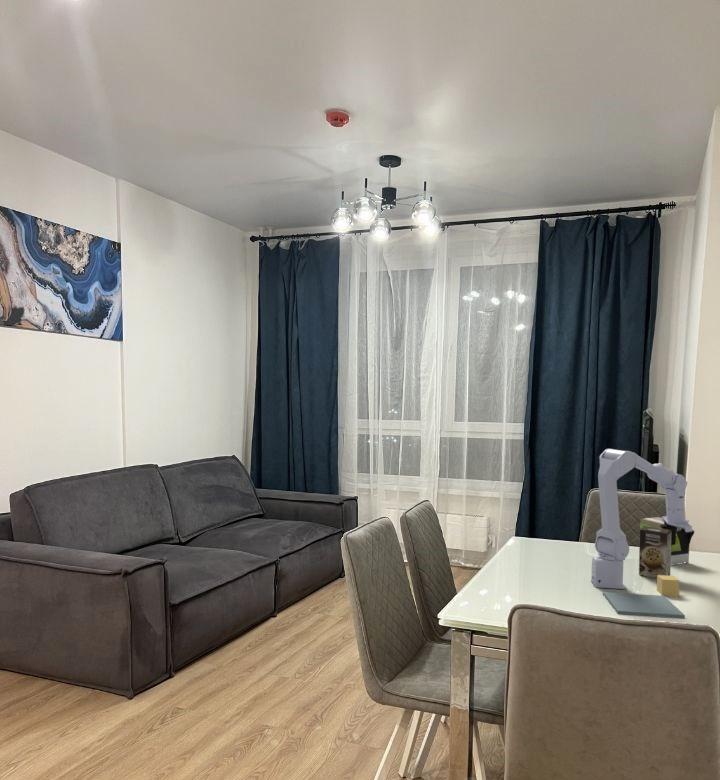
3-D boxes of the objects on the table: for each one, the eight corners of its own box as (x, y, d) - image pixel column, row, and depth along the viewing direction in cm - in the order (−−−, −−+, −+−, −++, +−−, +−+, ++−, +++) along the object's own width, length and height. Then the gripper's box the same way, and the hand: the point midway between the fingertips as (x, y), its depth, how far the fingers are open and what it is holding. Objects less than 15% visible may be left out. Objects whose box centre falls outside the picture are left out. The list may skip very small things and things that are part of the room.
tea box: (638, 556, 258) (639, 517, 258) (656, 553, 262) (657, 516, 262) (670, 565, 244) (671, 525, 244) (689, 563, 248) (690, 523, 248)
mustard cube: (661, 595, 207) (662, 579, 207) (656, 590, 212) (657, 575, 212) (678, 596, 206) (679, 580, 206) (673, 591, 211) (673, 576, 211)
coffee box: (638, 575, 229) (638, 529, 229) (643, 570, 234) (643, 525, 234) (666, 580, 224) (667, 533, 223) (671, 575, 229) (671, 529, 228)
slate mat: (617, 613, 188) (617, 610, 188) (602, 594, 206) (602, 591, 206) (684, 618, 186) (684, 615, 186) (663, 598, 204) (663, 595, 204)
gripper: (699, 511, 219) (702, 552, 220) (674, 502, 233) (677, 540, 234) (679, 514, 218) (682, 554, 219) (655, 504, 233) (658, 543, 233)
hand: (678, 547), depth 226 cm, fingers open, 7 cm apart
